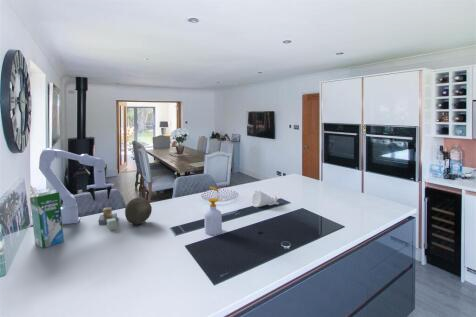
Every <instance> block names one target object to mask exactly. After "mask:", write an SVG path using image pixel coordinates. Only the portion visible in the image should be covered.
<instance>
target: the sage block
mask: <svg viewBox="0 0 476 317" xmlns="http://www.w3.org/2000/svg"><path fill="white" fill-rule="evenodd" d="M106 221H107V224H106V229H107V230H108V231H109V230H110V231H113V229H114V230H117V229H118V225H117V223H118V222H117V220H116V219H115V218H112V219H107V220H106Z"/></svg>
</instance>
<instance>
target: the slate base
mask: <svg viewBox="0 0 476 317" xmlns="http://www.w3.org/2000/svg"><path fill="white" fill-rule="evenodd" d="M112 218H115V219H116V221H117V220H118V212H115V213H112V217H111V218H104V216H103V214H100V216H99V217H98V221H97V222H98V225H107V224H106V223H107V221H106V220H107V219H112Z"/></svg>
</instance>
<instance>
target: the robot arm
mask: <svg viewBox="0 0 476 317" xmlns="http://www.w3.org/2000/svg"><path fill="white" fill-rule="evenodd" d="M55 158H56V160H58V159H61V158H64V159H69V160H74V161H78V162H79V164H82V165H84V166H89V167H93V177H94V184H89V185H86V190H88V192H89V193H90V195H91V197H92V199H93V201H96V195H95V194H96V192H95V191H96V190H95V189H105V188H106V192H107V200H109V199H110V194H111V191H112V188H114V187H115V185H114V183H106V173H105V171H106V170H105V165H106V163H105V161H104V159H102V158H101V157H99V156H92V155H89V154H88V153H82V154H76V153H73V152H70V151H65V150H62V149H57V148H50V147H47V148H44V149H42V151H41V153H40V155H39V162H38V169H39V171H40V172H41V174H42V175H43V176H44V177H45V179H46V180H47V181H48V182H49V184H50V185H51V186H52V188H53V189H54V190H55V191H56V193H57V192H59V196H60V199H61V200H62V202H63V205H62V206H61V216H62V225H70V224H77V223H79V222H80V220H81V217H80V216H79V210H78V204H77V200H76V195H74V194H73V193H71V192H70V191H69V190H68V189H67V187H66V186H65V185H64V184H63V183H62V181H61V179H60V178H59V177H58V175H57V174H56V173H55V172H54V170H53V169H52V168H51V166H52V162H53V161H54V160H55Z"/></svg>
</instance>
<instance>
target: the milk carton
mask: <svg viewBox="0 0 476 317" xmlns="http://www.w3.org/2000/svg"><path fill="white" fill-rule="evenodd" d="M60 199H61V197H60V195H59V192H57V191H56V192H53V193H49V192H48V191H44V192H40V193H37V196H34V197H33V196H32V197H29V201H30V211H31V219H32V227H33V236H34V244H36V245H37V246H39V247H41V248H42V249H46V248H48V247H52V246H54V245H57V244H60V243H62V242H65V239H64V227H63V224H62V216H61V208H62V206H61V200H60Z"/></svg>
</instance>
